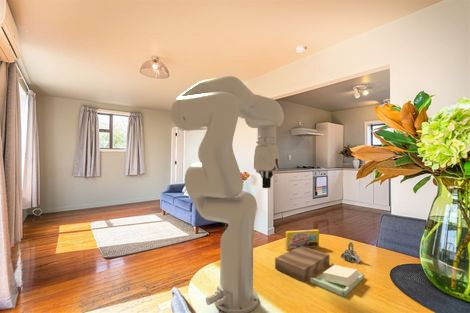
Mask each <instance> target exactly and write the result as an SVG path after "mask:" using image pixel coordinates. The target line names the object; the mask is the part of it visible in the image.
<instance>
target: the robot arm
mask: <svg viewBox="0 0 470 313" xmlns="http://www.w3.org/2000/svg"><path fill="white" fill-rule="evenodd" d="M284 113H285V112H284V109H283V108H282V106H281V105H280V103H279V102H278V101H277V100H275V99H274V98H271V97H268V96H263V95H259V94H255V93H253V92H252V90H251V89H249V88H248V86H247V85H246V84H245V83H244V82H243V81H241V79H239V78H238V77H237V76H234V75H233V76H232V75H226V76H225V75H224V76H220V77H214V78H208V79H204V80H201V81H199V82H197V83H196V84H194V85H192V86H191V87H190V88H188V89H186V91H184V92H183V93H181V94H180V95H179V96H178V97H176V98H175V99H174V101H173V103H172V104H171V107H170V117H171V118H170V119H171V121H172V123H173V124H174V126H175V127H177V128H178V129H179V130H182V131H204V130H206V132H205V134H204V137H203V138H202V140H201V142H200V144H199V147H198V151H197V156H198V160H199V162H195V163H192V164H191V165H190V166H188V167H187V169H186V171H185V175H184V186H185V187H184V188H185V190H186V193H187V195H188V197H189V198H190V200H191V202H192V204H193V205H194V207H195V209H196V210H197V212H198V214H199V215H200V217H201V218H203V219H204V220H206V221H212V222H218V223H225V224H228V227H227V228H226V229H225V231H224V232H223V233H222V235H221V237H220V242H219V244H220V245H219V246H220V247H219V248H220V250H219V253H220V254H219V256H220V261H219V263H220V264H219V266H220V267H219V268H220V269H219V271H220V273H219V275H220V279H219V284H220V285H217V287H216V291H215V292H214V293H213V294H211V295H209V296H207V297H206V298H205V303H206V305H207V306H211V305H213V304H215V306H216V307H217V308H218V309H219V310H221V311H222V312H224V313H250V312H252V311H253V310H254V309H256V308H257V306H258V304H259V295H258V292H257V291H255V289H254V231H255V221H256V216H257V210H258V209H257V207H258V203H257V199H256V198H255V196H254V195H253V194H252V193H251V192H248V191H245V190H243V189H244V188H243V187H244V181H243V176H242V173H241V170H240V168H239V164H238V162H237V161H238V160H237V159H236V155H235V152H234V148H233V147H234V146H233V141H234V137H235V132H236V128H237V123H238V119H239V118H241V119H243V120H244V122H245V123H246V125H247V126H248V127H250V128H253V129H257V140H256V141H255V143H256V146H255V149H254V153H253V154H254V156H253V169H254V170H255V173H257V174H259V175H260V178H261V180H262V184H261V185H262V189H270V188H271V184H272V182H271V181H272V180H271V179H272V178H273V176H274V175H275V174H278V173H279V171H278V170H279V168H280V156H279V147H278V145H277V127H281V125H283V123H284V121H285V120H284V119H285V114H284Z"/></svg>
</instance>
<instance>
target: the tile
mask: <svg viewBox="0 0 470 313" xmlns="http://www.w3.org/2000/svg"><path fill="white" fill-rule="evenodd" d="M336 265H337V264H336ZM336 265H333V266H332V267H331V266H330V267H329V268H327V269H326V270H325V271H323V272H322V273H323V275H324V280H325V281H329V282H333V283H337V284H341V285H345V286H350V285H351V284H352V283H353V282H355V281H356V280H357V279H358V278H359V275H358V272H359V270H358V269H356V268H350V267H347V266H346V267H345V266H342V267H341V265H339V266H336Z"/></svg>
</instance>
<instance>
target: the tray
mask: <svg viewBox="0 0 470 313" xmlns="http://www.w3.org/2000/svg"><path fill="white" fill-rule="evenodd" d="M330 265H331V266H330V267H332V266H333V265H336V266H341V265H339V264H335V263H330ZM341 267H343V266H341ZM358 275H359V278H358V279H357V280H356V281H355V282H353V283H352V284H351V285H350V286H345V285H341V284H337V283H333V282H329V281H325V280H324V275H323V272H321V273H320V274H318V275H317V276H316V277H314V276H312V277H310V278H309V283H310V284H312V285H315V286H317V287H319V288H321V289H324V290H326V291H328V292H330V293H333V294H335V295H337V296H338V297H339V296H340V297H342V298H346V296H347V295H349V294H350V293H351V292H352V291H353V289H355V288H356V286H358V285H359V283H360V282H362V281H363V279H365V274H364V273H361V272H359V271H358ZM361 280H362V281H361Z"/></svg>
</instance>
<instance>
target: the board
mask: <svg viewBox="0 0 470 313" xmlns="http://www.w3.org/2000/svg"><path fill="white" fill-rule="evenodd" d="M274 260H275V261H274V264H275V265H274V268H275V270H277V271H279V272H281V273H283V274H286V275H288V276H291V277H293V278H295V279H297V280H300V281H302V282H303V283H305V282H306V281H308V280H310V277H314V276H316V275H317V274H318V273H320V272H322V270H324V269H325V268H327V267H328V266H330V265H331V263H330V260H331V259H330V254H328V253H326V252H322V251H320V250H319V251H318V250H316V249H312V248H307V247H304V246H300V247H298V248H296V249H294V250H288V252H287V251H286V253H283V254H281V255H279V256H277V257H275V258H274Z"/></svg>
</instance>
